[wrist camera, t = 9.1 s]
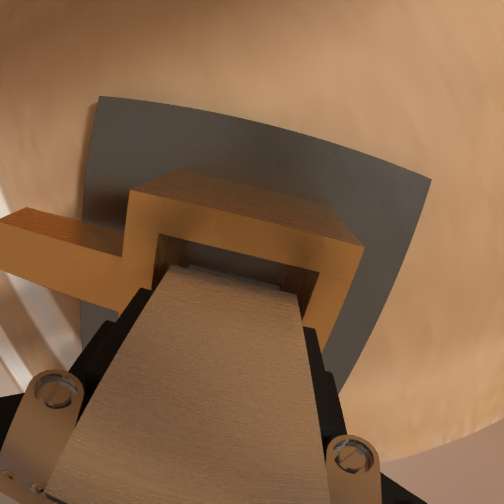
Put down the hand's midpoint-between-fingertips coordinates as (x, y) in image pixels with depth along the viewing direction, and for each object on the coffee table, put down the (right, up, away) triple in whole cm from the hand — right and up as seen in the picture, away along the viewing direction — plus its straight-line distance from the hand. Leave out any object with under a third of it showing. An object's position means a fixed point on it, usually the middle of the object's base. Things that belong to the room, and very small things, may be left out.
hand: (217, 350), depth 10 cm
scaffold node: (-2, -1, +10) cm, 10 cm away
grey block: (0, +1, +2) cm, 2 cm away
